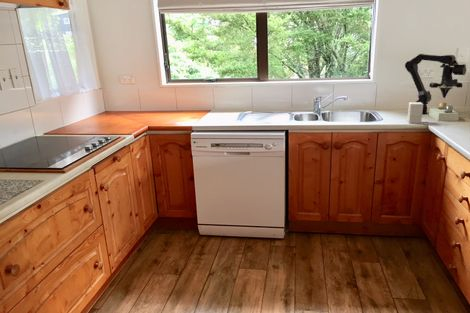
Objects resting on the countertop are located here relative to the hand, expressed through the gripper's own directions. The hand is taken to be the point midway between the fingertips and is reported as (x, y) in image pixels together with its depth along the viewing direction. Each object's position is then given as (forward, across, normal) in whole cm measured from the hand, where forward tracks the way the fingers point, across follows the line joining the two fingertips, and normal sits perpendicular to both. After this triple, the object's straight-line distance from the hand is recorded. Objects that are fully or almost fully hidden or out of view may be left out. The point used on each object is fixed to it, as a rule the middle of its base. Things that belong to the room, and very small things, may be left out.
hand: (443, 97), depth 248 cm
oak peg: (+8, 0, 0) cm, 8 cm away
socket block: (+12, -1, -6) cm, 14 cm away
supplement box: (+13, -23, -21) cm, 34 cm away
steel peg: (+8, 0, -12) cm, 15 cm away
